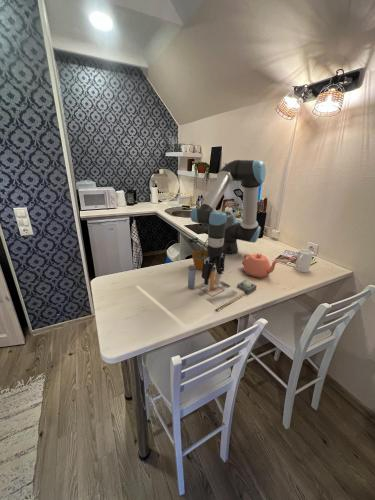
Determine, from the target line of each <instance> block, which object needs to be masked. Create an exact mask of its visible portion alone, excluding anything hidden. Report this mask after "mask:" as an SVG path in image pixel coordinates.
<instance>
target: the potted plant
mask: <svg viewBox="0 0 375 500" xmlns="http://www.w3.org/2000/svg"><path fill="white" fill-rule="evenodd" d="M208 232H209V227H208V228H207V230H205V232H204V234H206V235H207V236H208ZM188 242H190V244H191V243H194V244H197V243H198V244H200V246H201V247H202V250H201V249H199V250H195V251H193V252H192V253H191V258H192V260H193V266H195V267H196V269H195V271H196V270H197V271H201V272H202V269H203V259H207V257H208V252H207V250H204V249H205V246H206V244H208V238H206V240H205V242H204V245H202V244H201V243H200V241H199V239H198V237H196V238H188Z"/></svg>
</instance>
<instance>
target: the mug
mask: <svg viewBox="0 0 375 500" xmlns="http://www.w3.org/2000/svg"><path fill="white" fill-rule="evenodd" d="M313 257H314V252H313V251H312V250H310V249H305V248H303V249H302V248H300V249H298V253H297V257H296V260H295V264H294V269H295V270H296V271H298V272H302V273H308V272H310V266H311V263H312V260H313Z"/></svg>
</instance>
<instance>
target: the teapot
mask: <svg viewBox="0 0 375 500" xmlns="http://www.w3.org/2000/svg"><path fill="white" fill-rule="evenodd" d="M278 262H280V260H273V261H272V263H270V261H269V259H268V257H267V256H265V255H263V254H262V253H259V252H258V253H252V254H250V253H245V254H244V256H243V261H242V265H243V267H242V268H243V270H244V272H245V273H246V274H247V275H249V276H250V277H253V278H265V277H267V276H268V275H270V274H271V273H273V272H274V271H275V267H276V264H277V263H278Z"/></svg>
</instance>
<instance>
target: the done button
mask: <svg viewBox="0 0 375 500" xmlns="http://www.w3.org/2000/svg"><path fill="white" fill-rule="evenodd" d="M243 281H244V282H243ZM243 281H242V282H243V286H244V287H246V288H250V287H251V285H252V284H253V283H252V282H251V281H248V280H246V281H245V280H243ZM251 283H252V284H251Z"/></svg>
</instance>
